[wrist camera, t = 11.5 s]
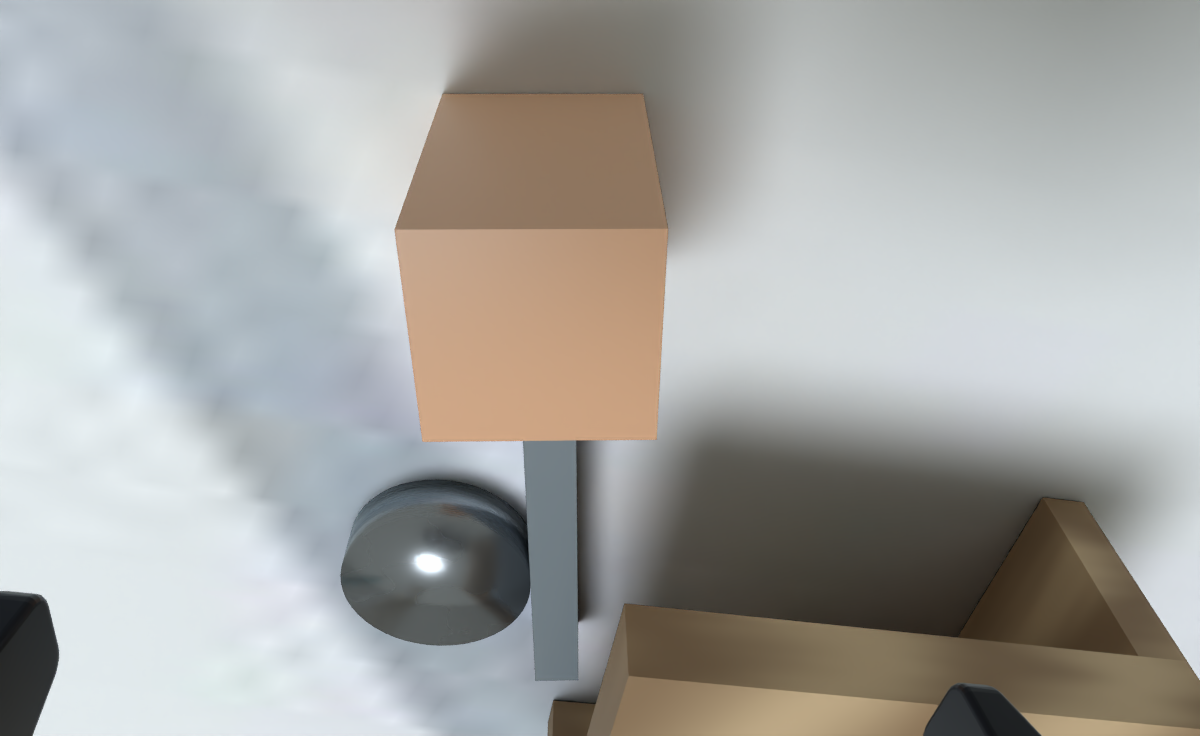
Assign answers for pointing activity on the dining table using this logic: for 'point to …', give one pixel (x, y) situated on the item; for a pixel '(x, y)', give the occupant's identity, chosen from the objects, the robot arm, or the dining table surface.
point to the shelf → (911, 659)
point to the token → (437, 563)
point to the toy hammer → (537, 303)
